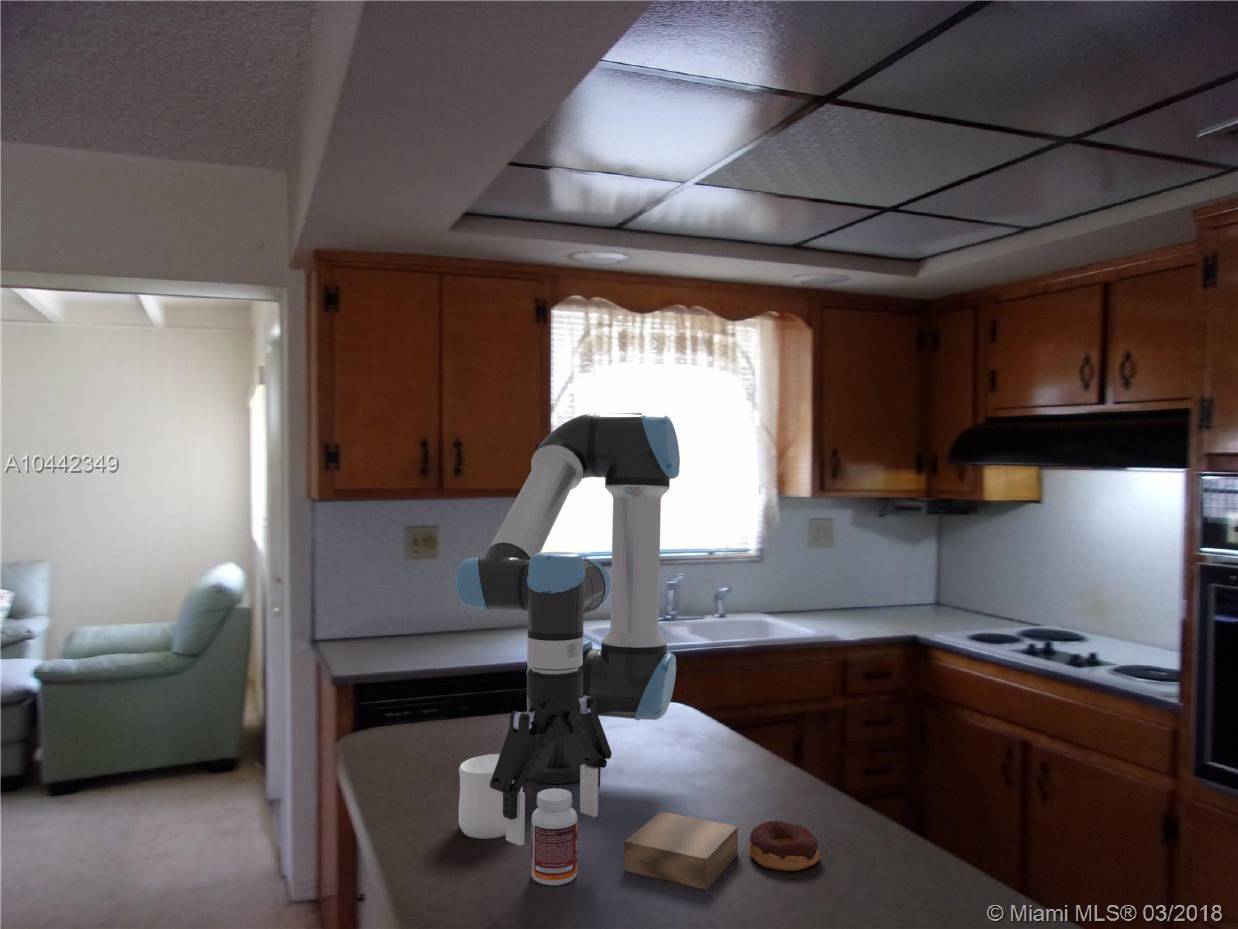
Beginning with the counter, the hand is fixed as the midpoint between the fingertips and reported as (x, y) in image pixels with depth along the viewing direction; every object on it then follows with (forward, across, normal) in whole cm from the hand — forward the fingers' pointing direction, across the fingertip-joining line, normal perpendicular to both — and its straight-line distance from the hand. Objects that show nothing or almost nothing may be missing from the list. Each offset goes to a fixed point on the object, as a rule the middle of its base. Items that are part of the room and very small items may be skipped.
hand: (553, 827), depth 121 cm
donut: (+7, +26, -19) cm, 33 cm away
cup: (+7, +6, +19) cm, 21 cm away
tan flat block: (+7, +16, -10) cm, 19 cm away
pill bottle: (+7, 0, 0) cm, 7 cm away
